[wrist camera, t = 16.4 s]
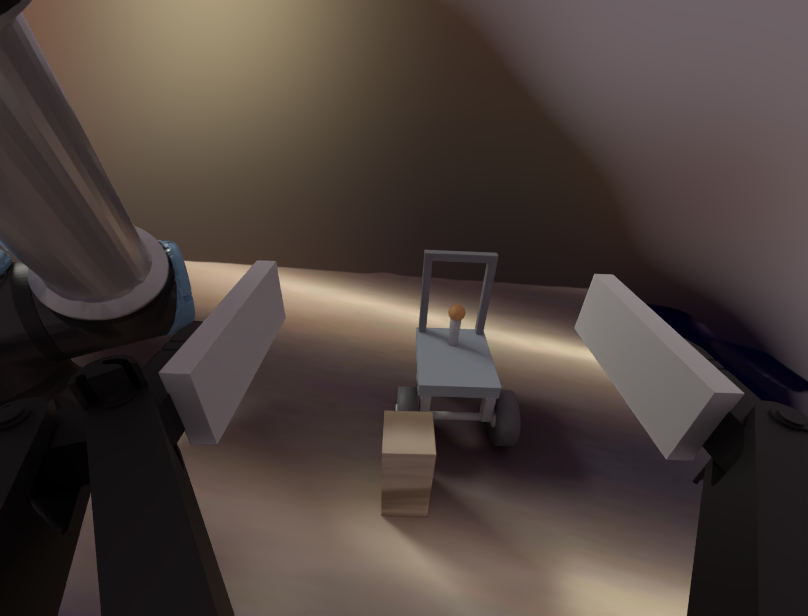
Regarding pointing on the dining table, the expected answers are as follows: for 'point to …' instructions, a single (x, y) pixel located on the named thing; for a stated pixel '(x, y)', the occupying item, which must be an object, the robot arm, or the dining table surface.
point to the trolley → (461, 360)
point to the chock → (407, 463)
